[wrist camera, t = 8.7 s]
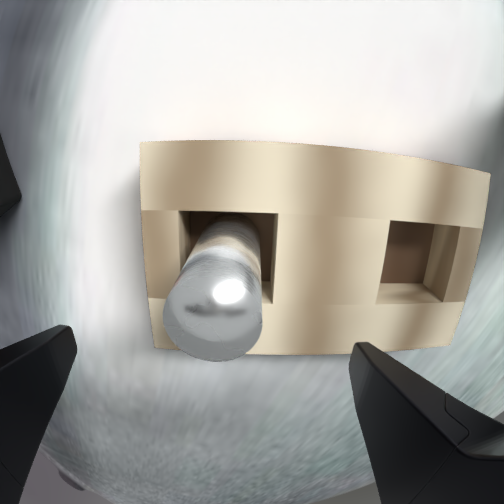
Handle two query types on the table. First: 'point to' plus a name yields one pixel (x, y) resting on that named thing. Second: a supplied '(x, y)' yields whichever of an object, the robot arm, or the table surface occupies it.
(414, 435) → the robot arm
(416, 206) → the bore block
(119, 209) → the table surface
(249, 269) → the pin
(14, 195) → the battery
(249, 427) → the table surface
